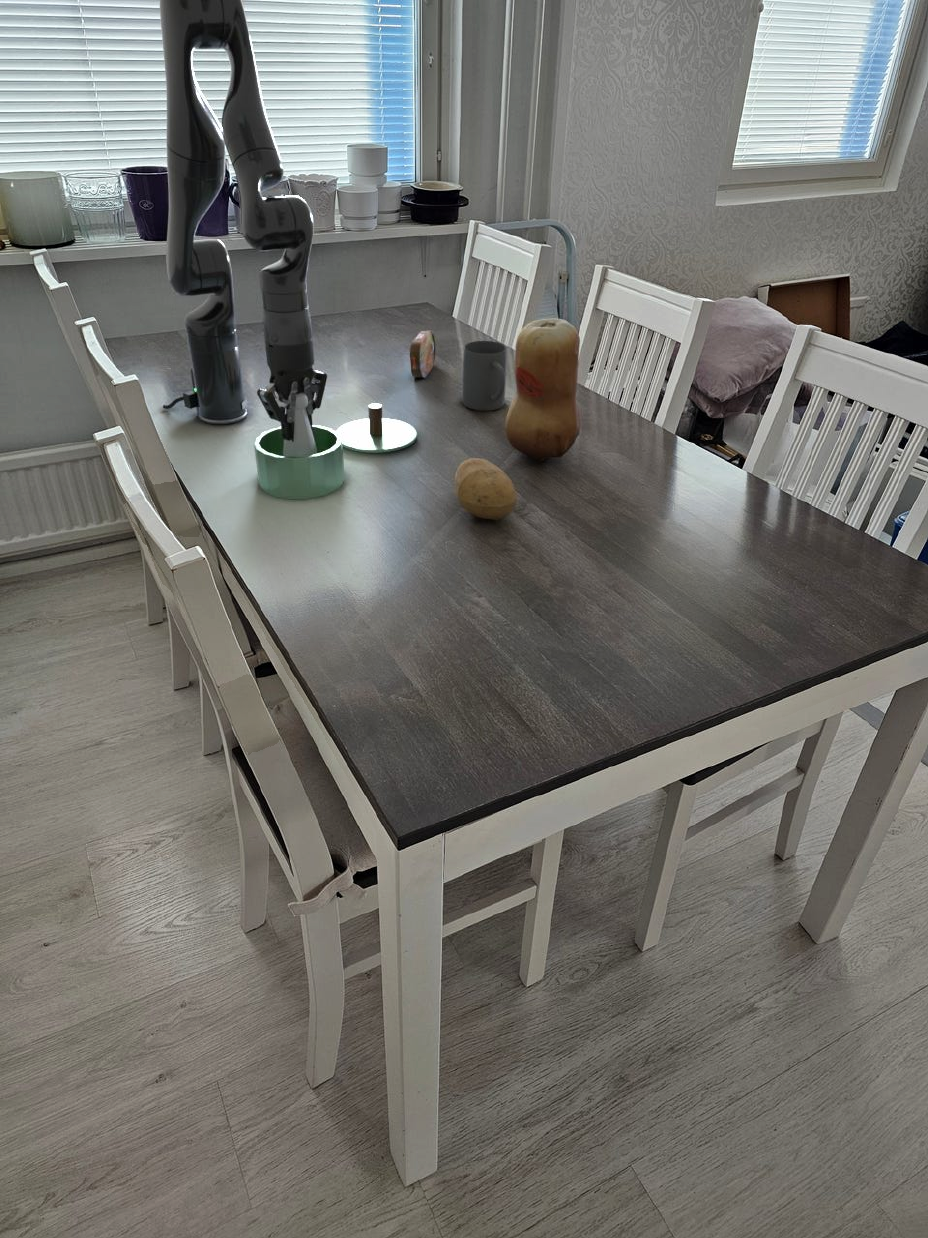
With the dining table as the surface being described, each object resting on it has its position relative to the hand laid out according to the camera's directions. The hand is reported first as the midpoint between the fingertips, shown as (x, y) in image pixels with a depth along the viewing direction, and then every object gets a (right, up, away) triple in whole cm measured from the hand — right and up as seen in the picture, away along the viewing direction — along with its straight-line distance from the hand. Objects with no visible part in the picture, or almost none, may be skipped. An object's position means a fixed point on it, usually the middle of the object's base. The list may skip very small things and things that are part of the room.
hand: (298, 437), depth 145 cm
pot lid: (+11, +5, +20) cm, 23 cm away
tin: (+19, +27, +53) cm, 63 cm away
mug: (+33, +14, +36) cm, 51 cm away
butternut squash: (+43, -1, +15) cm, 45 cm away
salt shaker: (0, -4, +3) cm, 5 cm away
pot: (0, -7, +4) cm, 8 cm away
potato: (+32, -14, -4) cm, 35 cm away
